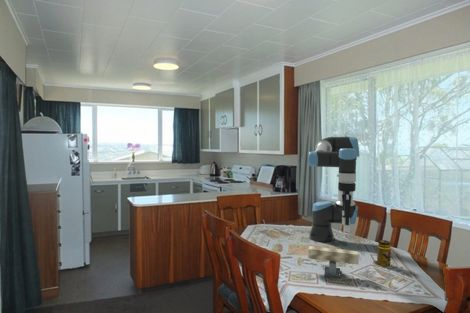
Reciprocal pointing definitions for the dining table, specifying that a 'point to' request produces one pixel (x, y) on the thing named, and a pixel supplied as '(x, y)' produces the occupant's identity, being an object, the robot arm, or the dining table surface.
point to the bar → (333, 255)
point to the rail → (332, 270)
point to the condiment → (383, 254)
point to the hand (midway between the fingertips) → (345, 228)
